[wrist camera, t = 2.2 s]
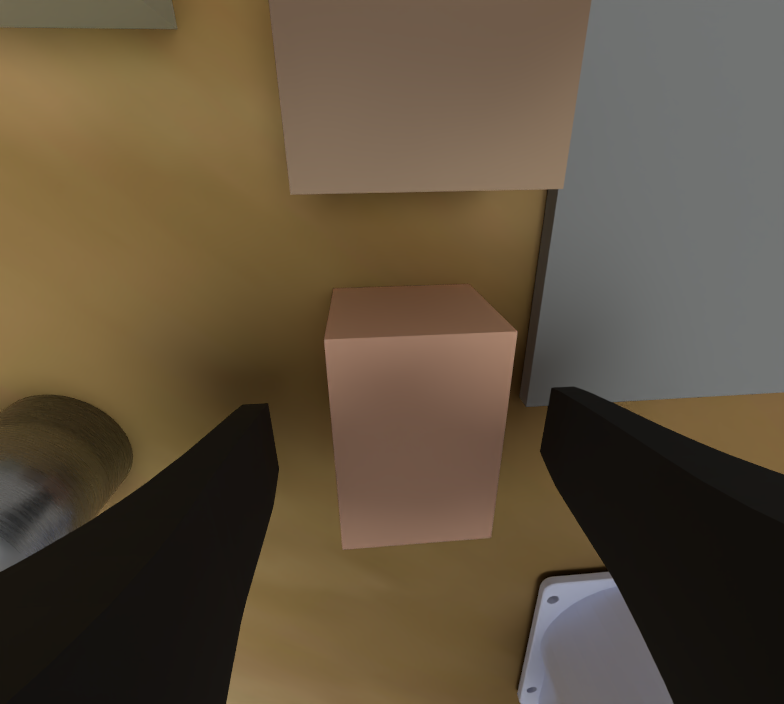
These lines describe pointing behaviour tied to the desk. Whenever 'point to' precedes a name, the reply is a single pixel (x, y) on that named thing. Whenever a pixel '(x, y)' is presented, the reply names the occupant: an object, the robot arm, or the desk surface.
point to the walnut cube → (427, 93)
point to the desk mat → (667, 209)
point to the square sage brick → (88, 14)
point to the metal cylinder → (55, 470)
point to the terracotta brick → (417, 411)
